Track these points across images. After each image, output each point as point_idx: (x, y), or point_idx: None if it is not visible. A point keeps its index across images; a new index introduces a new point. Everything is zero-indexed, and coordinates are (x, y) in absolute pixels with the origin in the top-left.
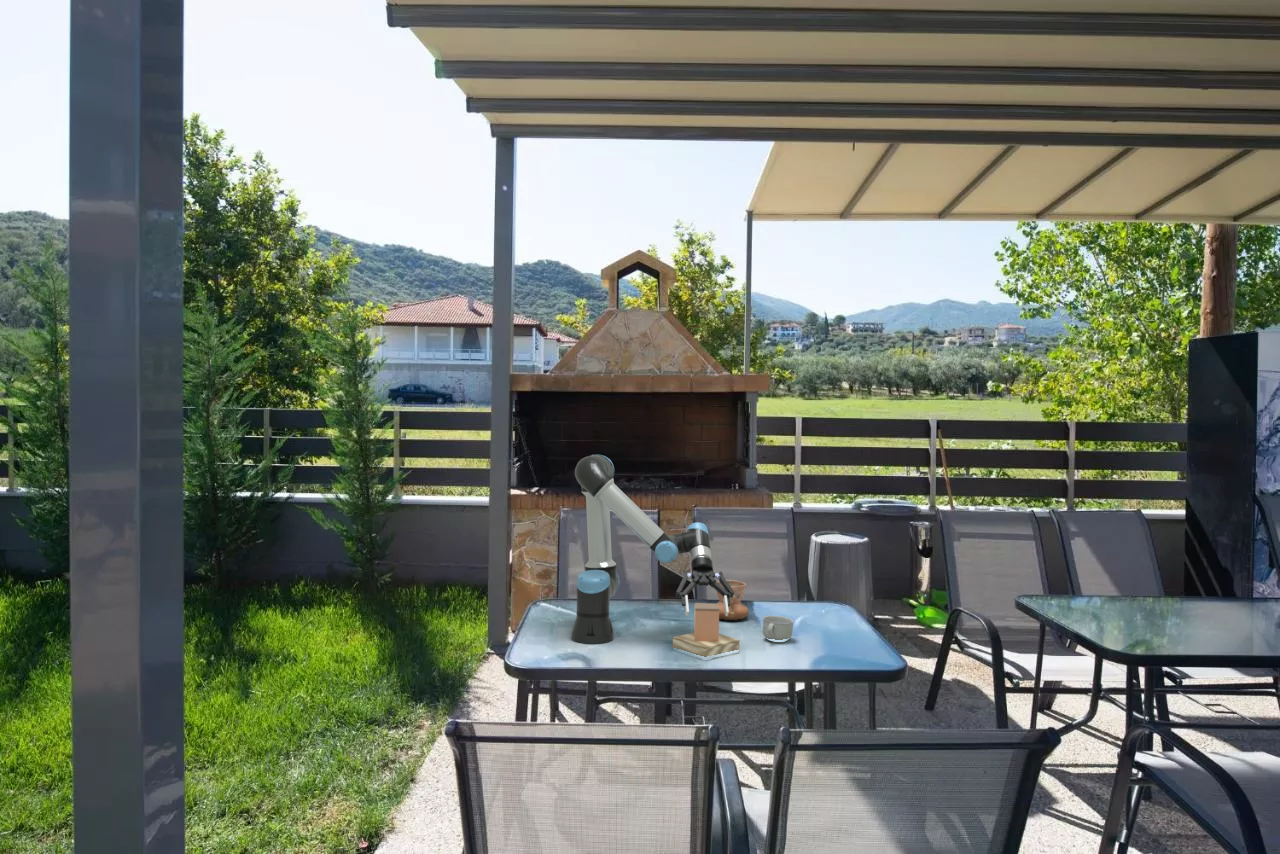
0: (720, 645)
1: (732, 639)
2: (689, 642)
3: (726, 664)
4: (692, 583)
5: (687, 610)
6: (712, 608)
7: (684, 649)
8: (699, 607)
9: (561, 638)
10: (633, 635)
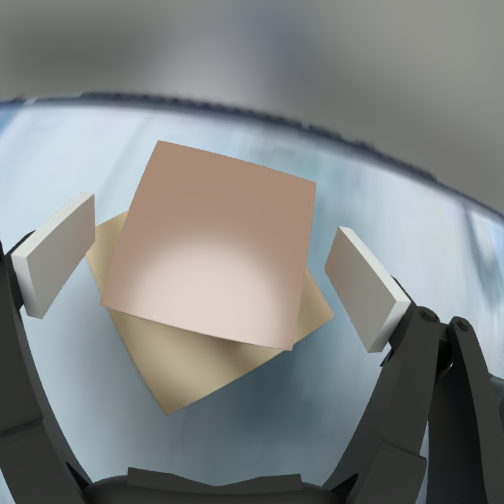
0: None
1: (101, 245)
2: None
3: (183, 145)
4: (405, 425)
5: (349, 231)
6: (198, 160)
7: None
8: (284, 201)
9: None
10: None
